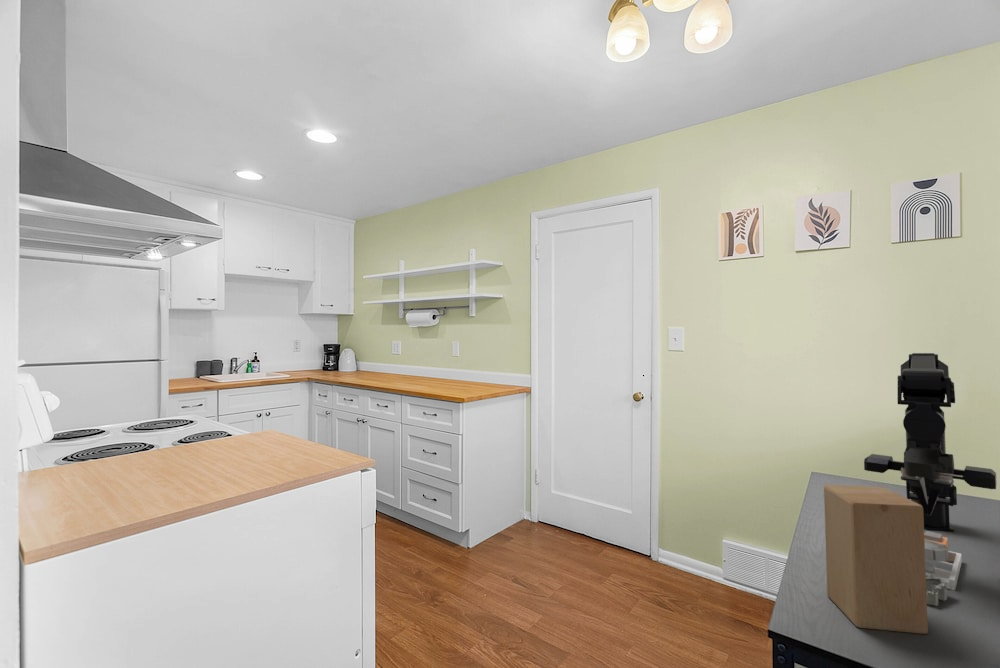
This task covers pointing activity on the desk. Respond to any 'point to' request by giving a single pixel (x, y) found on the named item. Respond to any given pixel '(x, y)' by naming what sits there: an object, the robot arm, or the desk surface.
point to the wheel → (935, 551)
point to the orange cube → (937, 539)
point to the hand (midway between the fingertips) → (928, 514)
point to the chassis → (946, 569)
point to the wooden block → (876, 558)
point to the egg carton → (936, 589)
